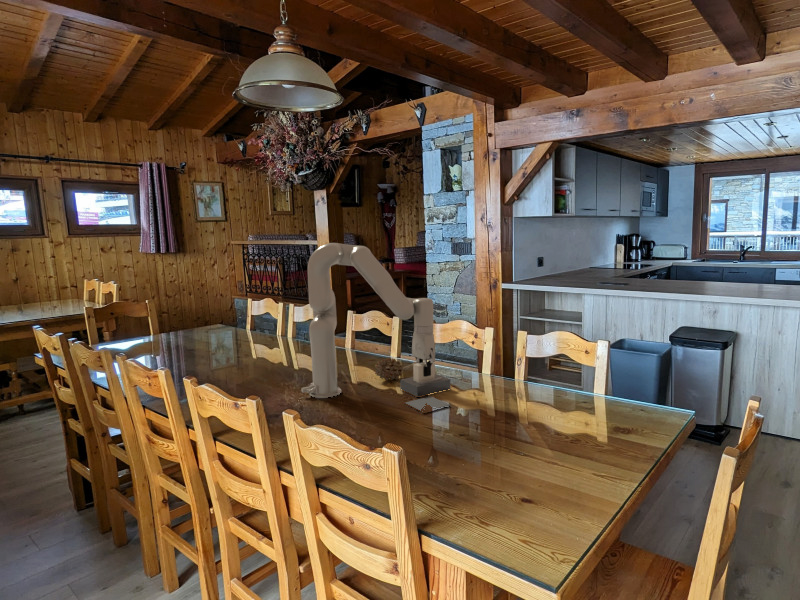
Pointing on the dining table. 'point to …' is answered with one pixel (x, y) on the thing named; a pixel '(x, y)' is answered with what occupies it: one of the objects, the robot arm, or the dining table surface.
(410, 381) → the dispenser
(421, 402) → the mat
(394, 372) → the pine cone
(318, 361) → the robot arm
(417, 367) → the cream upright block
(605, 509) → the dining table surface
